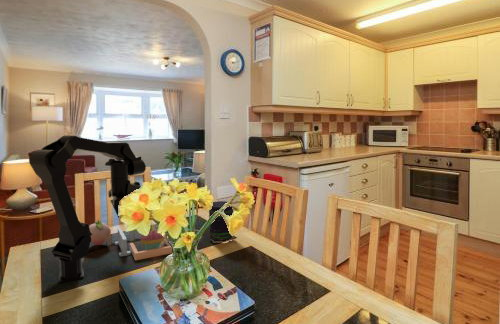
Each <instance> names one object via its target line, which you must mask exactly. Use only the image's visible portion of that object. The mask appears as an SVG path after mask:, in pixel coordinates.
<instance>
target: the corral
mask: <svg viewBox="0 0 500 324" xmlns="http://www.w3.org/2000/svg"><path fill="white" fill-rule="evenodd" d="M164 240H165V241H164V242H165V245H166V246H163V247H160V248H156V249H150V250H146V249H145V250H141V251H138V249H137V247H136V245H135V244H134V243H133V242H130V243H129V251H130V252H131V255H132V257H133V258H134V261H139V260H144V259H148V258H155V257H159V256H164V255H168V254H169V255H171V254H173V253H172V247H171V246H170V244H169V243H168V241H167V240H166V239H165V238H164Z"/></svg>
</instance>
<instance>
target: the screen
mask: <svg viewBox="0 0 500 324" xmlns="http://www.w3.org/2000/svg"><path fill="white" fill-rule="evenodd" d="M114 245H115V246H119V248H120V252H119V253H118V255H119V257H126V256H130V255H132V253H131V251H130V250H128V239H127V237H126V234H125V233H124V231H123V229H122V228H121V227H120V228H119V227H118V228H117V241H115V242H114Z"/></svg>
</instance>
